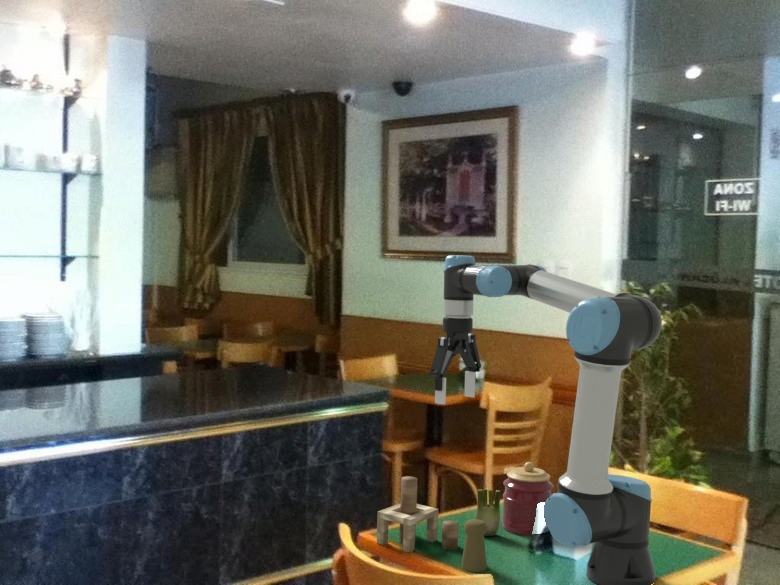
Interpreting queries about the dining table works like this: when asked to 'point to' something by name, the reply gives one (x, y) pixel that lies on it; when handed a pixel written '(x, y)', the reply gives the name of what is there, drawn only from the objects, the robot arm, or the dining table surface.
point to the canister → (524, 497)
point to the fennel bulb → (489, 510)
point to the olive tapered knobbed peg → (474, 546)
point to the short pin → (450, 534)
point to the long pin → (408, 500)
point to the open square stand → (407, 524)
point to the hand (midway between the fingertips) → (455, 400)
